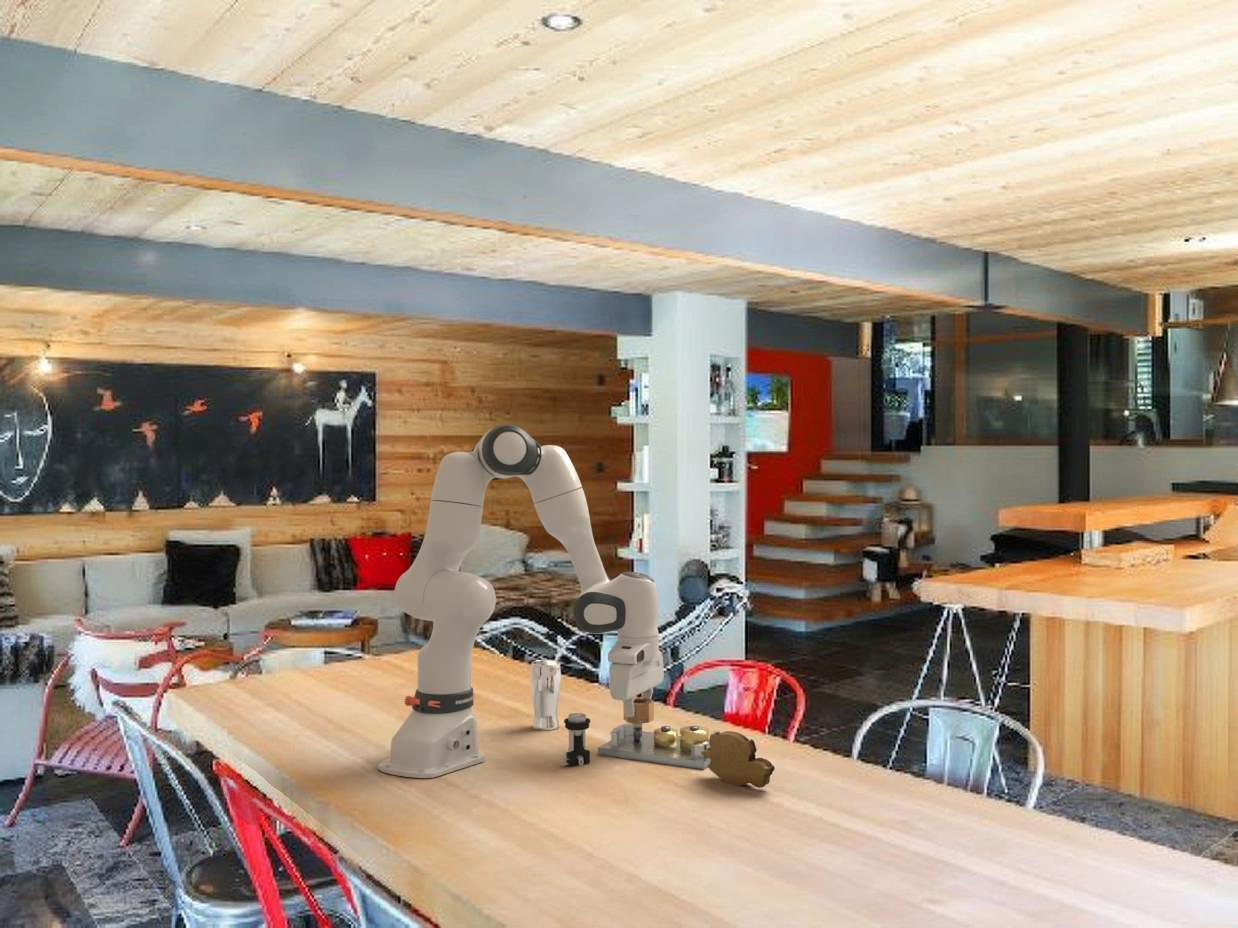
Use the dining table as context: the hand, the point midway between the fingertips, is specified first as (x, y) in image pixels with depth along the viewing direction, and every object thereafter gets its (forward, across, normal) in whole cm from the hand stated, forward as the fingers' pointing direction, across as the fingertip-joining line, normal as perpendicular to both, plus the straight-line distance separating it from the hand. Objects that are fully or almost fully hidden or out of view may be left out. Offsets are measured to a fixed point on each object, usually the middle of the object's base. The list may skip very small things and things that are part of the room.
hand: (638, 712), depth 237 cm
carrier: (+8, 0, +7) cm, 10 cm away
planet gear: (+2, 0, 0) cm, 2 cm away
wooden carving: (+8, +14, +27) cm, 32 cm away
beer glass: (+8, -6, -26) cm, 28 cm away
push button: (+8, +17, -7) cm, 20 cm away
